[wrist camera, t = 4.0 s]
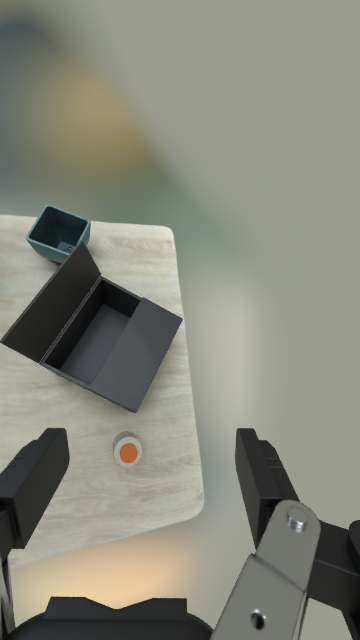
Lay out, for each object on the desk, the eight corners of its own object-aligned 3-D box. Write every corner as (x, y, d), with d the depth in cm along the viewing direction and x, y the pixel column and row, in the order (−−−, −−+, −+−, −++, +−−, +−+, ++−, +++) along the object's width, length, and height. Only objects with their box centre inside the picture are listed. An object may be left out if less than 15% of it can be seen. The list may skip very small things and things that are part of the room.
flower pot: (36, 263, 54) (23, 238, 46) (55, 231, 57) (46, 202, 49) (78, 278, 55) (72, 256, 47) (94, 246, 59) (91, 220, 50)
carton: (130, 411, 50) (136, 413, 38) (54, 373, 49) (37, 362, 37) (168, 336, 57) (183, 318, 45) (102, 301, 55) (100, 273, 43)
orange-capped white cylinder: (130, 461, 47) (134, 475, 38) (108, 451, 47) (108, 462, 38) (141, 437, 49) (148, 445, 40) (120, 427, 49) (123, 432, 40)
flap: (1, 343, 30) (-2, 342, 30) (38, 363, 37) (36, 362, 37) (82, 240, 36) (80, 239, 37) (101, 274, 44) (99, 273, 44)
